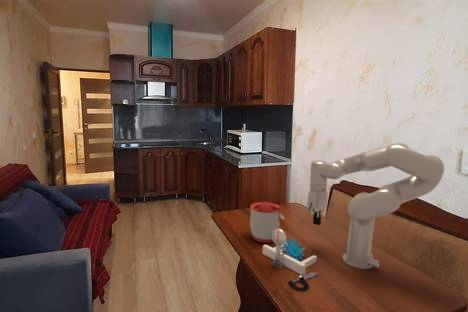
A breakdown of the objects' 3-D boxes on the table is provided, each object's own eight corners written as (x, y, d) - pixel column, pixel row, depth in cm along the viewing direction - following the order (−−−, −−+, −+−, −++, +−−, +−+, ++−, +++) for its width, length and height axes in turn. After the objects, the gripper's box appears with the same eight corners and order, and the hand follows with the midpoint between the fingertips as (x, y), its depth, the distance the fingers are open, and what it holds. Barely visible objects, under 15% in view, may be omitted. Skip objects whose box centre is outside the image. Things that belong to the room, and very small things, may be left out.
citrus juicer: (281, 247, 138) (284, 208, 135) (246, 243, 141) (248, 204, 138) (283, 234, 153) (285, 198, 150) (251, 230, 156) (252, 195, 153)
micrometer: (298, 294, 103) (299, 288, 103) (285, 284, 109) (286, 278, 109) (327, 283, 111) (328, 277, 110) (314, 274, 117) (314, 268, 116)
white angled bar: (321, 264, 124) (322, 255, 123) (302, 275, 115) (302, 265, 114) (281, 245, 140) (282, 237, 140) (262, 253, 131) (262, 245, 131)
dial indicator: (290, 265, 122) (292, 229, 119) (281, 270, 118) (283, 232, 115) (277, 259, 127) (280, 224, 124) (268, 263, 123) (270, 227, 120)
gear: (288, 260, 123) (282, 238, 128) (281, 265, 127) (276, 243, 133) (309, 260, 127) (303, 238, 132) (302, 264, 131) (296, 243, 137)
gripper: (319, 183, 141) (318, 218, 144) (302, 188, 132) (301, 225, 134) (333, 185, 136) (332, 222, 138) (316, 191, 126) (314, 230, 129)
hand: (316, 224), depth 136 cm, fingers closed
